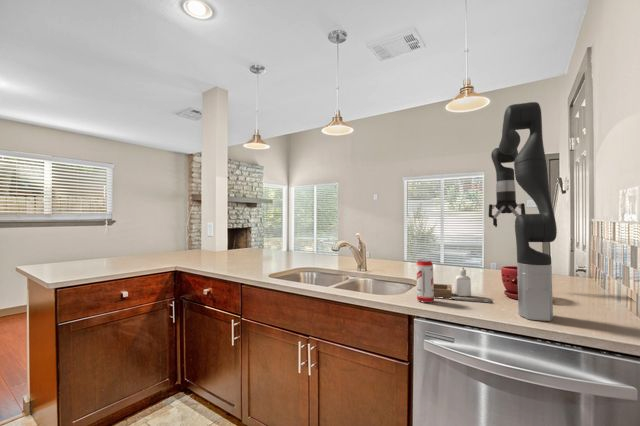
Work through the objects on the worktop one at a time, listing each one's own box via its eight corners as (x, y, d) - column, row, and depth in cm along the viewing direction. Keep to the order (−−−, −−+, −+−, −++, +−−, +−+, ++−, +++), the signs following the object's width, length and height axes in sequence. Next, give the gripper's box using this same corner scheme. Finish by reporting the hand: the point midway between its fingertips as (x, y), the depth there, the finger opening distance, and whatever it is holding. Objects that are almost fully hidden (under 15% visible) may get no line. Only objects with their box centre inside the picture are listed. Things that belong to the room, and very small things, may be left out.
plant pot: (549, 301, 118) (548, 269, 119) (513, 301, 119) (513, 270, 119) (526, 293, 131) (526, 264, 132) (495, 293, 132) (494, 265, 132)
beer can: (431, 299, 125) (430, 259, 125) (435, 303, 118) (434, 261, 119) (415, 299, 125) (414, 259, 125) (419, 303, 119) (417, 261, 119)
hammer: (493, 303, 117) (493, 294, 117) (427, 298, 127) (426, 289, 127) (490, 295, 128) (490, 287, 128) (429, 291, 138) (429, 283, 138)
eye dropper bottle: (469, 298, 126) (468, 268, 126) (454, 296, 129) (453, 266, 129) (472, 295, 129) (471, 266, 129) (457, 293, 132) (457, 265, 133)
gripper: (488, 191, 141) (489, 227, 141) (525, 189, 135) (527, 226, 135) (487, 192, 148) (488, 226, 148) (522, 191, 142) (523, 226, 142)
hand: (506, 226), depth 141 cm, fingers open, 8 cm apart
